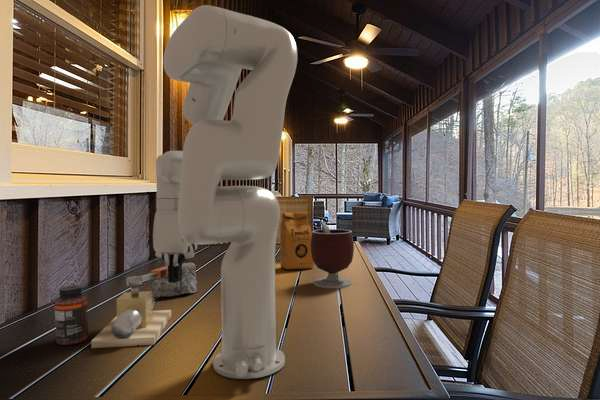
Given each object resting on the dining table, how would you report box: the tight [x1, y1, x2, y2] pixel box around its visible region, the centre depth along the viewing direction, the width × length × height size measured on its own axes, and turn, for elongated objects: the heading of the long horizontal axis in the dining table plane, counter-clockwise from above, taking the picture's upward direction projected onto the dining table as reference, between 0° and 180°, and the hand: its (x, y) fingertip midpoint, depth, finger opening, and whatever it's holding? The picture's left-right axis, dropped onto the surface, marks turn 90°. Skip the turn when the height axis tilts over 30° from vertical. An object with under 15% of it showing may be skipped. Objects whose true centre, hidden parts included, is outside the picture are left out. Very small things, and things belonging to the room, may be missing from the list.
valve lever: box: [126, 265, 168, 288], centre depth 99 cm, size 16×3×2 cm, turn 162°
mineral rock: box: [151, 262, 199, 297], centre depth 124 cm, size 13×11×10 cm
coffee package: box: [279, 211, 315, 271], centre depth 161 cm, size 10×12×22 cm
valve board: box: [90, 309, 172, 349], centre depth 93 cm, size 19×12×2 cm, turn 7°
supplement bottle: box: [54, 284, 89, 346], centre depth 87 cm, size 6×6×11 cm
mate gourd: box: [311, 220, 355, 289], centre depth 136 cm, size 16×14×20 cm
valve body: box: [111, 286, 156, 339], centre depth 93 cm, size 19×6×8 cm, turn 7°
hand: (175, 281), depth 101 cm, fingers closed
